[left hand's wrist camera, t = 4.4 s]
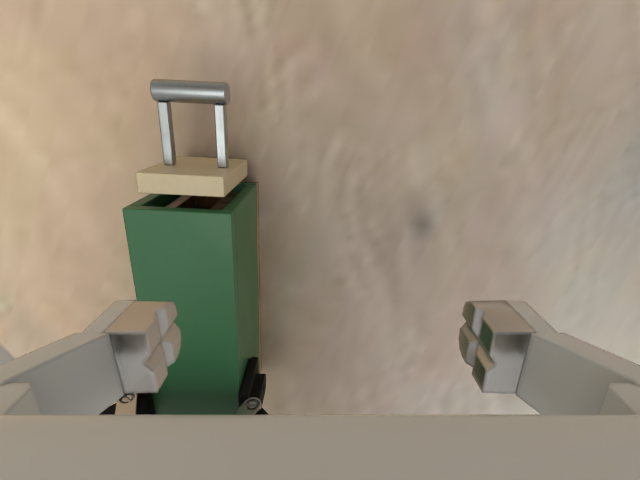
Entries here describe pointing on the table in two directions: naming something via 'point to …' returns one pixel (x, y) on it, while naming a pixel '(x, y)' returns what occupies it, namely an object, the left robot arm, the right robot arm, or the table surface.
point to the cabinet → (201, 293)
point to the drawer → (193, 172)
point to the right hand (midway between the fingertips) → (210, 370)
